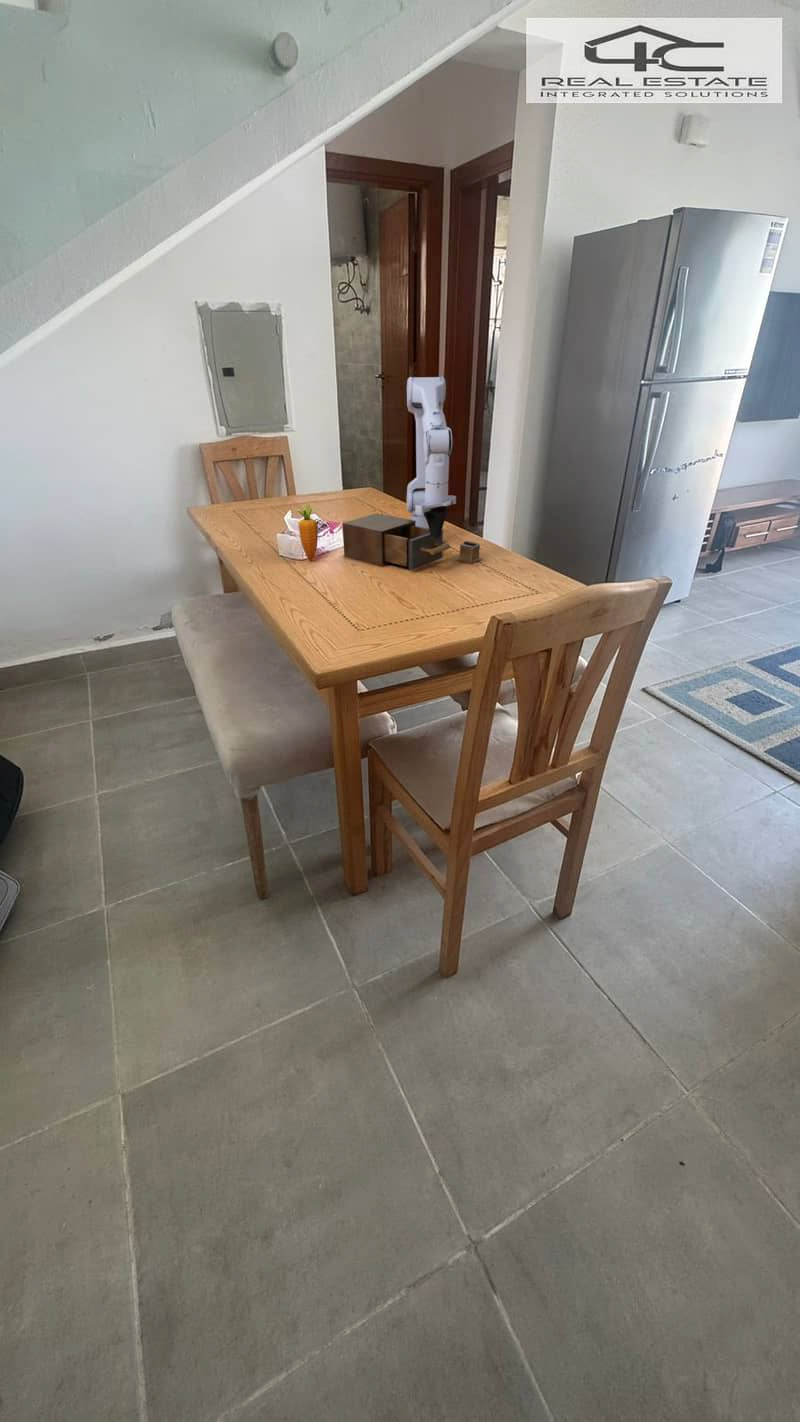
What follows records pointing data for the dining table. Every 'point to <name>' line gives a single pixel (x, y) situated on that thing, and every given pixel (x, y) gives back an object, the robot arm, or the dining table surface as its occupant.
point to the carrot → (308, 533)
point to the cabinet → (370, 536)
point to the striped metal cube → (469, 552)
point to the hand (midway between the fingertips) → (435, 537)
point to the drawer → (412, 546)
